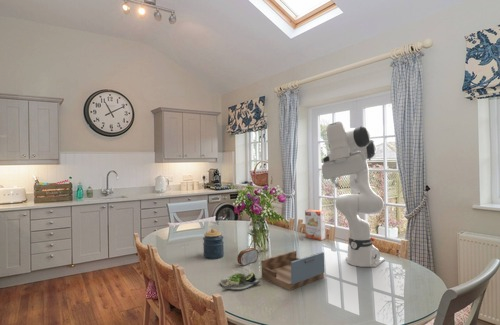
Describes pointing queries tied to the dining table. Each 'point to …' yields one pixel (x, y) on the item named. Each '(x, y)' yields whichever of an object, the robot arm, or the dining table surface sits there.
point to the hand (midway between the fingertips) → (347, 185)
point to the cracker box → (315, 224)
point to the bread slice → (247, 256)
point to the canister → (213, 245)
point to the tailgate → (307, 267)
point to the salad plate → (239, 281)
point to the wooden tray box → (283, 271)
